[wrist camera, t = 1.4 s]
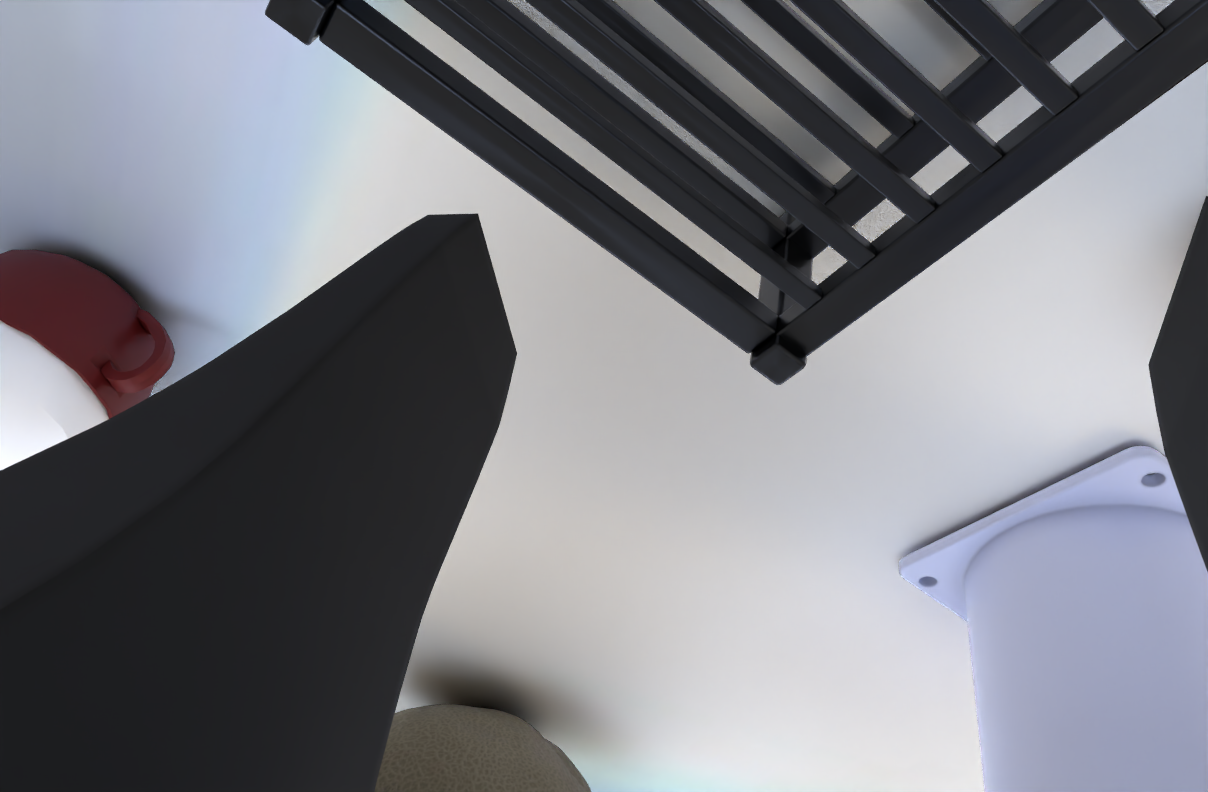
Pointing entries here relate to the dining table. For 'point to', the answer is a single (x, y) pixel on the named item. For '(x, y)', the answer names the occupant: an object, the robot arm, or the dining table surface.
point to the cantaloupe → (472, 754)
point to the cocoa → (69, 351)
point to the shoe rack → (813, 205)
